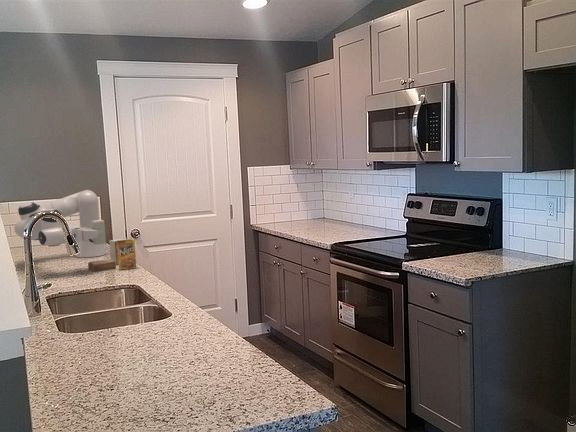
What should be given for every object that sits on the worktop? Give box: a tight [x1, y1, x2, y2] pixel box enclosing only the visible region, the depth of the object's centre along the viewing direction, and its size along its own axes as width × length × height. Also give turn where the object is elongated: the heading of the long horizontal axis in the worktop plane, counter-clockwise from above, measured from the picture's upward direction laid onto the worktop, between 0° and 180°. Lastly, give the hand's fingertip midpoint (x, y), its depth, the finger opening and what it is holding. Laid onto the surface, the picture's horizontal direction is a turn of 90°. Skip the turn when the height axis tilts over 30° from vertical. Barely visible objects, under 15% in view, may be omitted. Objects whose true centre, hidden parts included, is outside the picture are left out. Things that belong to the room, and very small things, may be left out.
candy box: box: [117, 238, 137, 271], centre depth 306 cm, size 9×4×15 cm, turn 107°
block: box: [92, 219, 107, 245], centre depth 307 cm, size 5×5×12 cm
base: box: [87, 258, 117, 273], centre depth 309 cm, size 10×11×4 cm
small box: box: [108, 238, 123, 266], centre depth 323 cm, size 8×6×13 cm
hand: (100, 231), depth 308 cm, fingers closed on block, 4 cm apart
